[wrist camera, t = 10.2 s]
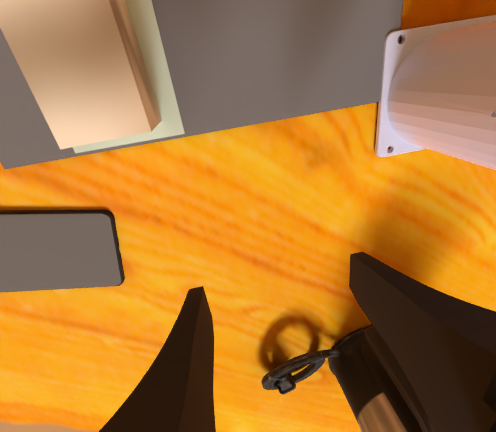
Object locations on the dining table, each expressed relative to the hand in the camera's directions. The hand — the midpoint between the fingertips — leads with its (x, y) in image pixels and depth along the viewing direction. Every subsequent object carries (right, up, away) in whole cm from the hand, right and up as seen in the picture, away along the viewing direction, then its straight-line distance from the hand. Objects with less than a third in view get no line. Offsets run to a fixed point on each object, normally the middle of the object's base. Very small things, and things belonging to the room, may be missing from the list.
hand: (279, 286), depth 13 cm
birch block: (-10, +12, +2) cm, 16 cm away
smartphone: (-19, +1, +8) cm, 21 cm away
